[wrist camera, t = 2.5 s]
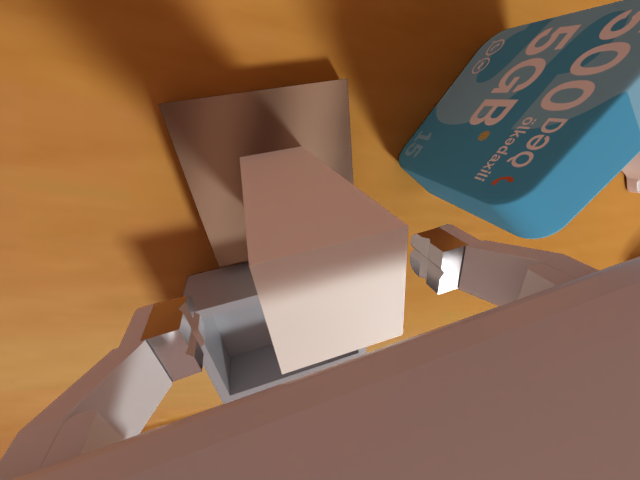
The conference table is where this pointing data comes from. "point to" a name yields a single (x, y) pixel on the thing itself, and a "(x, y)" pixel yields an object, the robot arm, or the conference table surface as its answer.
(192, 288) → the bin
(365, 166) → the conference table surface
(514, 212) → the data package
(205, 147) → the stud plate
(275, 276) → the strut
